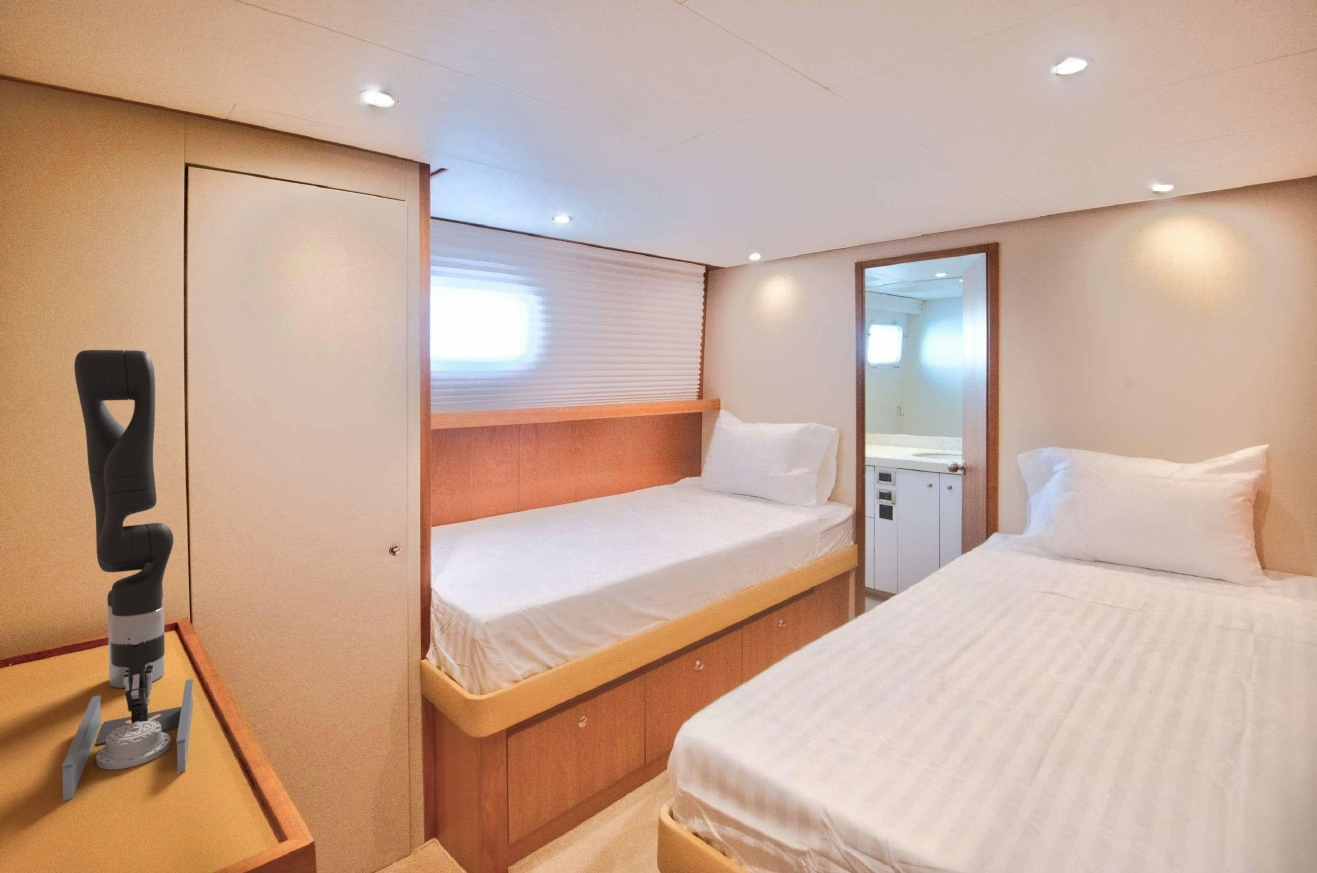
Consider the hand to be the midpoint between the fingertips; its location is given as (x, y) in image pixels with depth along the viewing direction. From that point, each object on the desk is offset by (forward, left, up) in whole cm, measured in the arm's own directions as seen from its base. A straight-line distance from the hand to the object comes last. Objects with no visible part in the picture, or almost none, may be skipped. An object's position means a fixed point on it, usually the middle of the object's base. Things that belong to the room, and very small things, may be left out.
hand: (139, 727), depth 116 cm
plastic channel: (+4, 0, -2) cm, 5 cm away
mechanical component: (+7, 0, -2) cm, 7 cm away
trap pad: (-4, 0, -2) cm, 4 cm away
